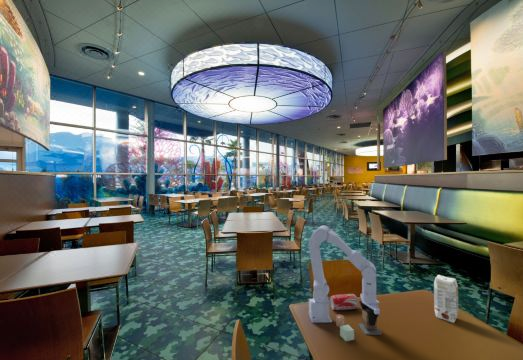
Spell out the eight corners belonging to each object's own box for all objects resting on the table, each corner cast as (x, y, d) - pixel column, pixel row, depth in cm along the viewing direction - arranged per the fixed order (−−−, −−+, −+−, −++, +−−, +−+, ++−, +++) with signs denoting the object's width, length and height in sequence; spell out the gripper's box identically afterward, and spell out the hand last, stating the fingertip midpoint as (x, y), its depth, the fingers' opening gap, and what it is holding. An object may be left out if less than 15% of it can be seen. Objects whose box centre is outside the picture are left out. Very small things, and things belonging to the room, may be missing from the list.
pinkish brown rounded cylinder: (337, 327, 107) (337, 318, 107) (334, 323, 110) (334, 314, 110) (345, 327, 107) (345, 318, 107) (342, 323, 110) (342, 314, 110)
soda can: (351, 296, 129) (328, 297, 128) (355, 291, 123) (331, 293, 123) (356, 310, 124) (331, 312, 123) (360, 306, 119) (334, 308, 118)
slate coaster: (365, 334, 102) (365, 333, 102) (358, 325, 109) (358, 323, 109) (381, 334, 102) (381, 333, 102) (373, 324, 109) (373, 323, 109)
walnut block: (366, 329, 103) (366, 315, 103) (362, 322, 107) (362, 309, 107) (377, 328, 103) (376, 315, 103) (372, 322, 107) (371, 309, 107)
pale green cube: (345, 341, 97) (345, 331, 98) (340, 335, 101) (340, 326, 101) (354, 339, 99) (354, 330, 99) (348, 333, 102) (348, 324, 102)
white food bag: (456, 324, 108) (455, 283, 109) (433, 317, 115) (432, 277, 115) (459, 318, 113) (458, 278, 114) (437, 311, 120) (436, 273, 120)
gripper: (386, 298, 98) (387, 331, 98) (370, 284, 113) (370, 312, 112) (370, 299, 98) (370, 332, 98) (355, 284, 113) (356, 313, 112)
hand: (369, 321), depth 105 cm, fingers closed on walnut block, 4 cm apart
